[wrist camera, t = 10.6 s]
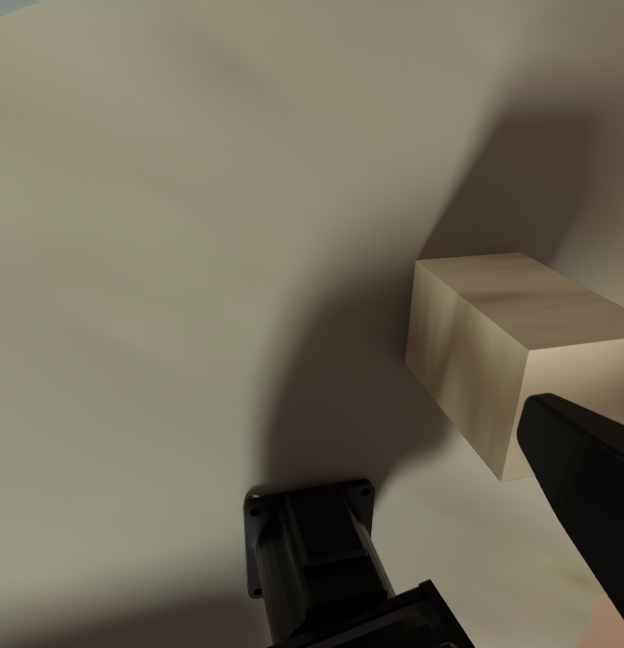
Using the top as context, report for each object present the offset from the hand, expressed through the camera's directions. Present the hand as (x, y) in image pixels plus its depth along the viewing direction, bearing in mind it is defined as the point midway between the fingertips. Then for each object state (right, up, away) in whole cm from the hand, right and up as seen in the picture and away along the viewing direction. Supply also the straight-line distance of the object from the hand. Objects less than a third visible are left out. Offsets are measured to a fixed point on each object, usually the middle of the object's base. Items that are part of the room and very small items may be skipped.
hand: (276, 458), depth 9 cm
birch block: (+7, +3, +16) cm, 18 cm away
